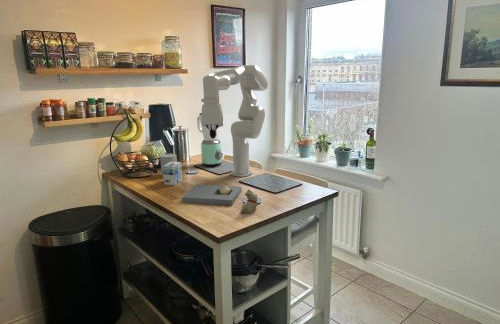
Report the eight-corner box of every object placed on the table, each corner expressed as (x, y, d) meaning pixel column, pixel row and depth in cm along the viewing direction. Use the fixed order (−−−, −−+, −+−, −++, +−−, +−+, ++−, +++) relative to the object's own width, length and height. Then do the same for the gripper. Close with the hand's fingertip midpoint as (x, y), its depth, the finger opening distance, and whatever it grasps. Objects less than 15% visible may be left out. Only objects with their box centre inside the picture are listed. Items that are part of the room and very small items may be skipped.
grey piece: (181, 174, 209) (179, 154, 206) (169, 178, 201) (168, 157, 198) (169, 172, 214) (168, 152, 211) (158, 176, 206) (156, 155, 203)
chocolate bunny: (259, 212, 150) (259, 190, 147) (241, 213, 149) (240, 191, 146) (257, 207, 155) (256, 186, 153) (239, 209, 154) (239, 187, 151)
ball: (228, 183, 172) (232, 192, 172) (219, 187, 172) (223, 196, 173) (227, 186, 167) (231, 195, 167) (217, 190, 167) (221, 199, 168)
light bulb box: (175, 185, 188) (173, 166, 185) (163, 185, 189) (162, 165, 187) (182, 179, 198) (181, 161, 196) (171, 179, 199) (170, 161, 197)
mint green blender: (228, 164, 231) (226, 111, 223) (215, 168, 221) (213, 113, 212) (206, 160, 242) (204, 110, 233) (193, 164, 231) (190, 112, 222)
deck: (197, 188, 182) (196, 184, 181) (241, 191, 177) (241, 186, 177) (182, 202, 163) (182, 197, 162) (232, 205, 158) (232, 200, 158)
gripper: (194, 102, 170) (196, 139, 174) (224, 102, 167) (225, 139, 171) (199, 100, 177) (201, 136, 181) (228, 100, 174) (229, 136, 179)
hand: (213, 137), depth 176 cm, fingers closed
